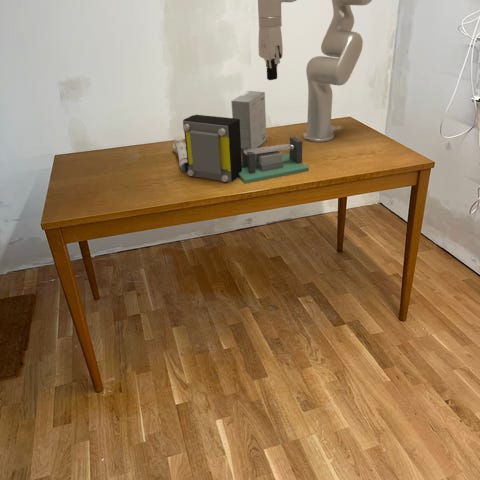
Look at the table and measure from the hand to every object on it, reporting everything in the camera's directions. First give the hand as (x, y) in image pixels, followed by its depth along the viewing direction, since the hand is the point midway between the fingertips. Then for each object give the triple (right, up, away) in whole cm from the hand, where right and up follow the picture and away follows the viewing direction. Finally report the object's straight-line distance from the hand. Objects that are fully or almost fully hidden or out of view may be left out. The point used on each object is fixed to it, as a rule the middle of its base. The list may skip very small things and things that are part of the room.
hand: (272, 79), depth 163 cm
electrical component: (-20, -34, +1) cm, 40 cm away
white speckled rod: (-33, -26, +15) cm, 45 cm away
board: (-1, -31, +3) cm, 31 cm away
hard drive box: (-7, -18, +25) cm, 32 cm away
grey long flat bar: (-1, -25, 0) cm, 25 cm away
